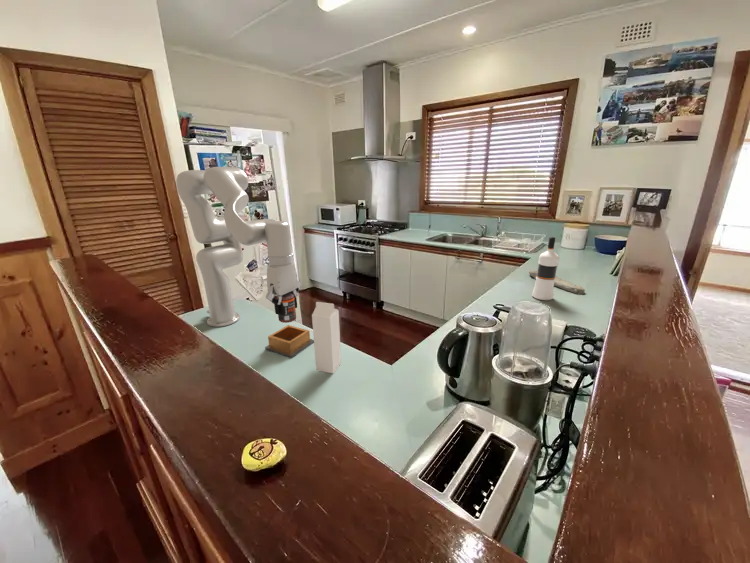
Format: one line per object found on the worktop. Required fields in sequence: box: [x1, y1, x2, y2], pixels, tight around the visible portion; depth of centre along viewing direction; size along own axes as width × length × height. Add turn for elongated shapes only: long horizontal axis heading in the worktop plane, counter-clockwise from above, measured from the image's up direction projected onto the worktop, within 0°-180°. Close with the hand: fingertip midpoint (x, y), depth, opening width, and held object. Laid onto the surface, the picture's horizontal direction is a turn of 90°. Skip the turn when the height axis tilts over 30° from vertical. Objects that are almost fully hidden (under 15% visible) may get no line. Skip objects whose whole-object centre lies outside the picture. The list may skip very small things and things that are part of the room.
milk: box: [311, 301, 342, 374], centre depth 96 cm, size 6×6×22 cm
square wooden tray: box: [265, 324, 314, 359], centre depth 111 cm, size 12×12×5 cm
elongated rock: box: [528, 270, 586, 295], centre depth 173 cm, size 35×5×10 cm
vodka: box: [531, 236, 560, 301], centre depth 149 cm, size 9×9×30 cm
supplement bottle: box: [277, 292, 297, 324], centre depth 106 cm, size 6×6×11 cm
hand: (286, 310), depth 107 cm, fingers closed on supplement bottle, 5 cm apart
